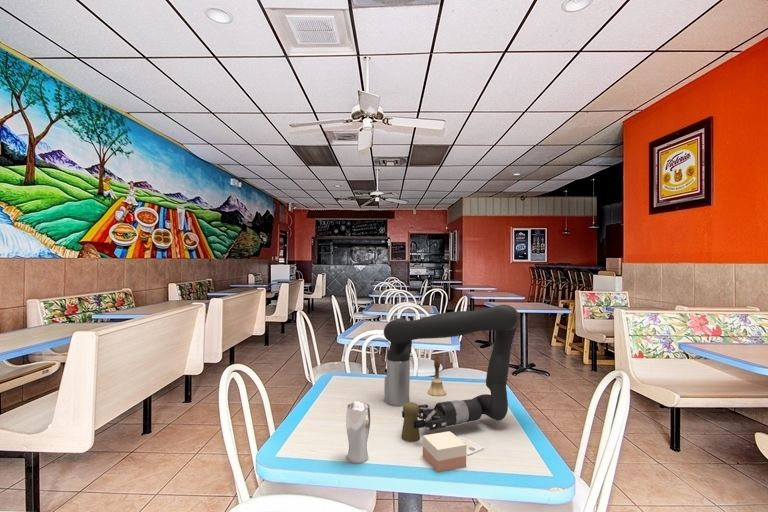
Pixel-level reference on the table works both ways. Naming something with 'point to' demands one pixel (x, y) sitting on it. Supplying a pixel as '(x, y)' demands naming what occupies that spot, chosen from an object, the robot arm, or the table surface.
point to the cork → (410, 422)
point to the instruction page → (470, 446)
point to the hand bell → (436, 381)
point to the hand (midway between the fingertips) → (407, 419)
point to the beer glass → (358, 431)
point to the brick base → (444, 463)
